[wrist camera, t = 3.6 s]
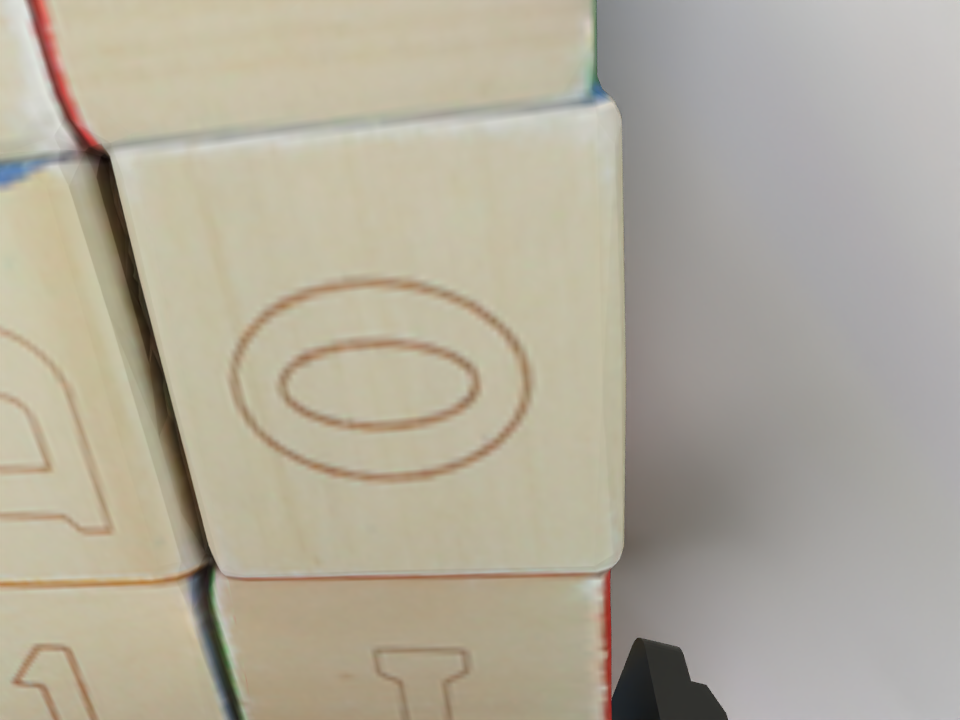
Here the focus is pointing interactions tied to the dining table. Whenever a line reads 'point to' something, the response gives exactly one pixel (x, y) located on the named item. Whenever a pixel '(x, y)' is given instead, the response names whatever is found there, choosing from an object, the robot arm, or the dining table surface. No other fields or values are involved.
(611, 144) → the stack of blocks
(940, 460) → the dining table surface
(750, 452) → the dining table surface
